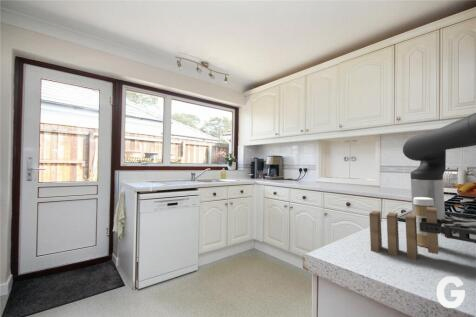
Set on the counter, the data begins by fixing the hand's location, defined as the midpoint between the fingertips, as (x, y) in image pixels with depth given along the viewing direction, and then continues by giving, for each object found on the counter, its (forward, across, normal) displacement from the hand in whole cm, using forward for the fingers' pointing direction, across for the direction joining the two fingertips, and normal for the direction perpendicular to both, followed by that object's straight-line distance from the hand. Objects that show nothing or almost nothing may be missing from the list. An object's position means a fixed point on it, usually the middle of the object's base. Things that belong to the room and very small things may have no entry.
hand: (421, 224), depth 58 cm
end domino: (+10, 0, +8) cm, 13 cm away
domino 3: (-2, 0, +6) cm, 6 cm away
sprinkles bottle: (0, -11, +8) cm, 14 cm away
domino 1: (+6, 0, +8) cm, 10 cm away
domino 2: (+2, 0, +8) cm, 8 cm away
